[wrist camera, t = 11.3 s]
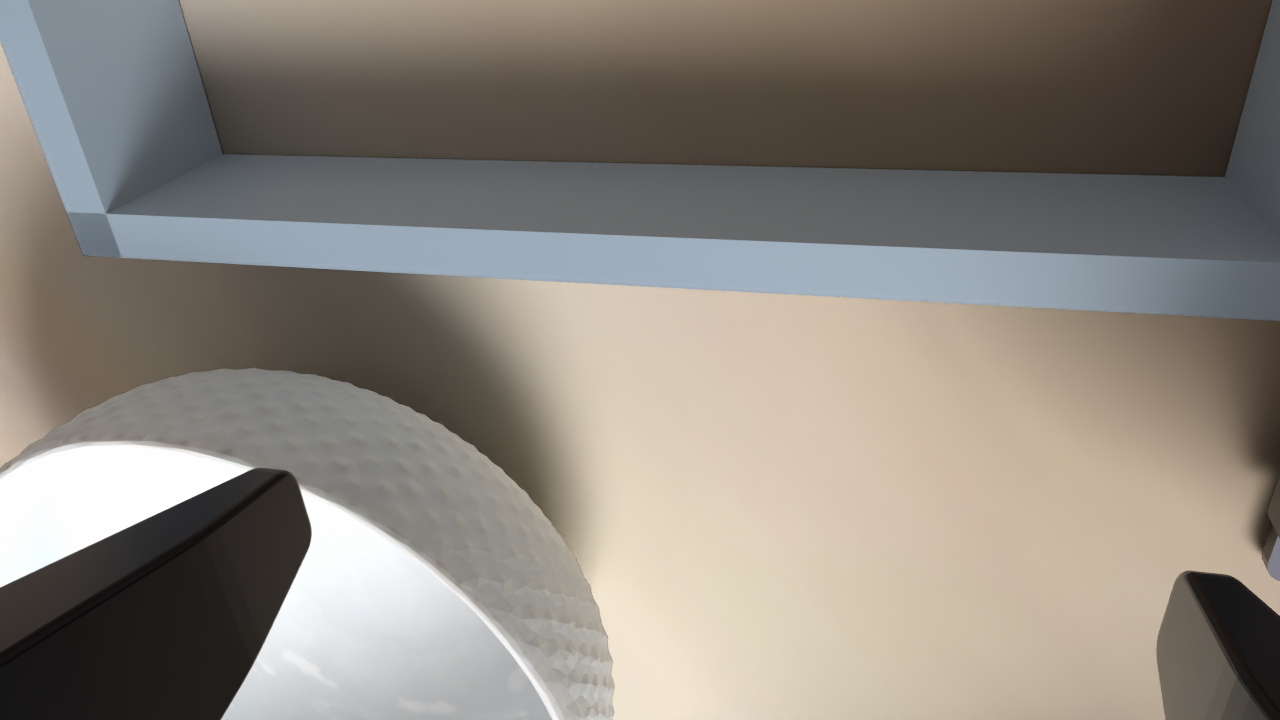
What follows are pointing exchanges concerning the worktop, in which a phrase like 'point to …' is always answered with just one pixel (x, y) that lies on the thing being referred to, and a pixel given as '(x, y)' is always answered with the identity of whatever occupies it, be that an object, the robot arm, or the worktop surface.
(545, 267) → the open box
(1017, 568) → the worktop surface
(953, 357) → the worktop surface
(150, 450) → the cereal bowl
